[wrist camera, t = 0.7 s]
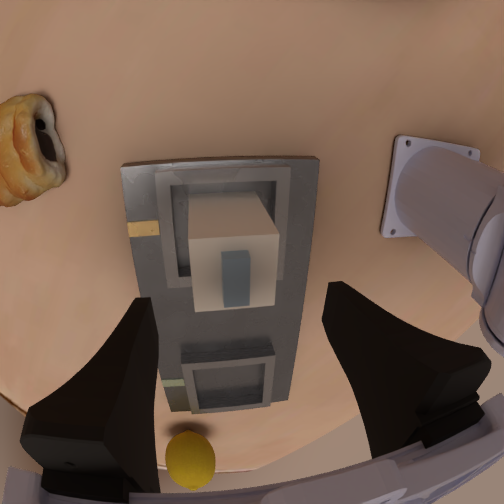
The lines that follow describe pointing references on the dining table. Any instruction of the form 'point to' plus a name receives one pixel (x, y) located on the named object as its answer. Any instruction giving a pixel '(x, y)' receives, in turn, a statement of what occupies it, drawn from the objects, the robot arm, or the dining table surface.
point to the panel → (180, 282)
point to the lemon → (190, 460)
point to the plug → (231, 251)
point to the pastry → (28, 150)
